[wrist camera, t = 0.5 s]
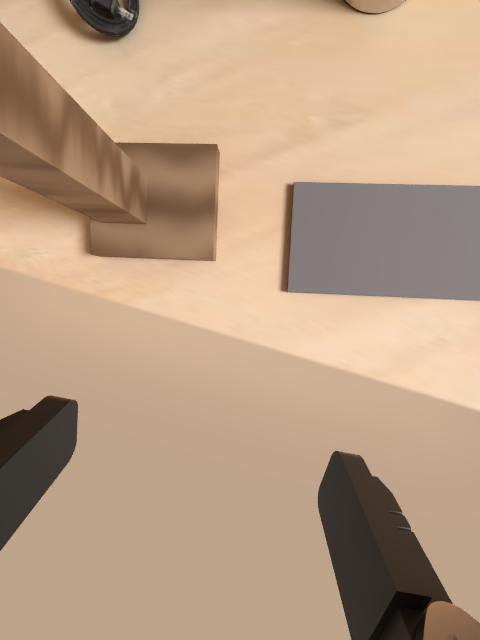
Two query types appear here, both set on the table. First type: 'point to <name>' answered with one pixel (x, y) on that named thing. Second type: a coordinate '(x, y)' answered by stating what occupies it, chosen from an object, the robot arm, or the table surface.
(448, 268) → the charcoal mat
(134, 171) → the walnut pedestal
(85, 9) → the milk frother
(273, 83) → the table surface
